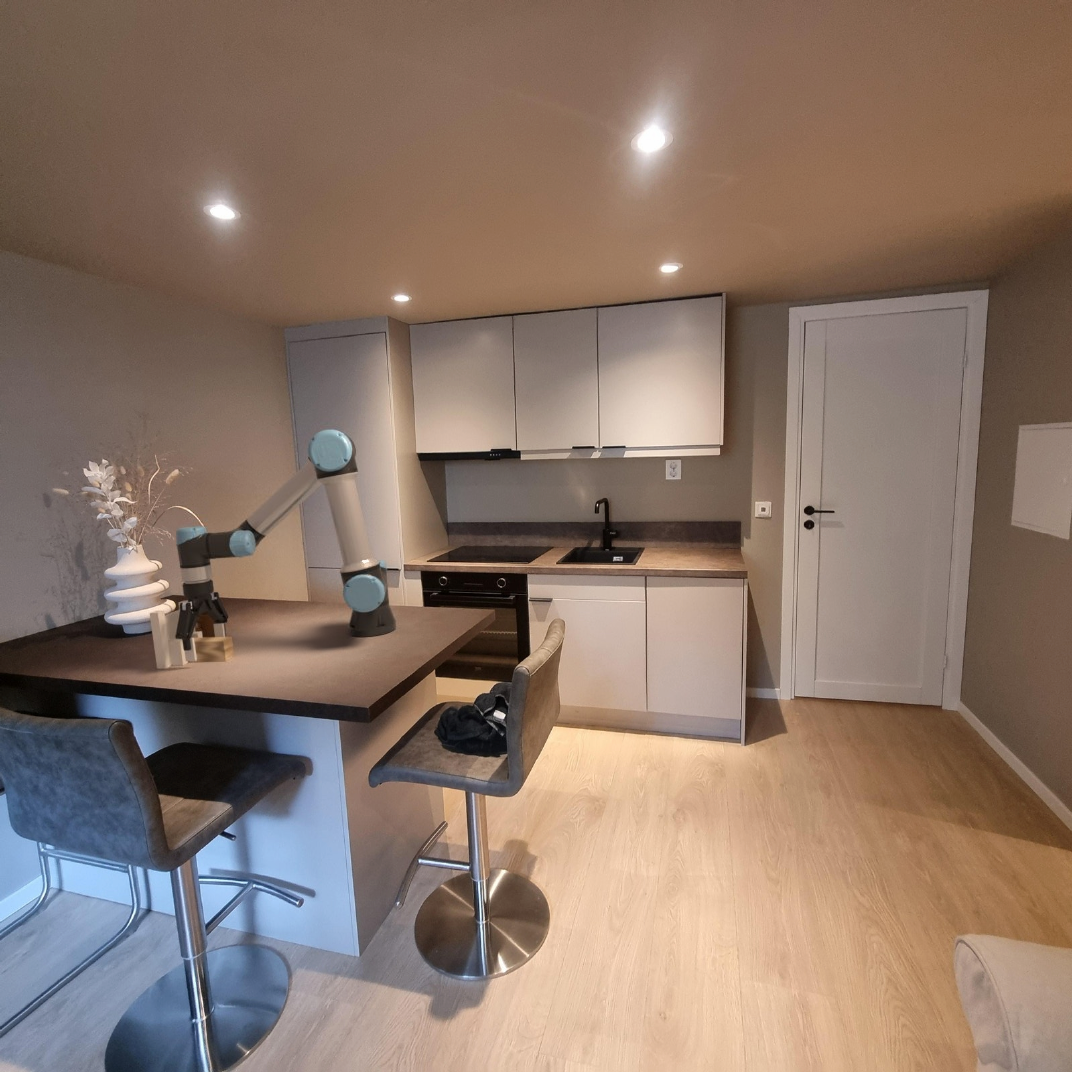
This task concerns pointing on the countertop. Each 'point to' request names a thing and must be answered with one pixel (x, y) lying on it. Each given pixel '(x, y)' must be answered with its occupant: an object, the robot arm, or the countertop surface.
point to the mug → (206, 625)
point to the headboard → (168, 639)
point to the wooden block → (213, 649)
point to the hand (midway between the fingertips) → (206, 652)
